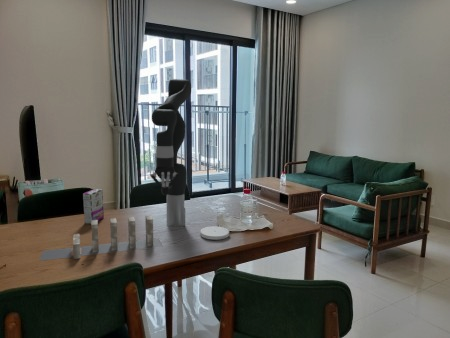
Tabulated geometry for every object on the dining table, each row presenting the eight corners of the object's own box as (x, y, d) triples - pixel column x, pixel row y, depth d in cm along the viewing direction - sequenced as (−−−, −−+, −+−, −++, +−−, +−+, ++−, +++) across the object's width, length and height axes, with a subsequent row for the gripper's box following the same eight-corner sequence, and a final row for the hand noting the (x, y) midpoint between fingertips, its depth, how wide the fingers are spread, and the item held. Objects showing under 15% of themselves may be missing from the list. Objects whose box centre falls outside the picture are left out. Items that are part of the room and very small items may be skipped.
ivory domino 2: (116, 244, 148) (115, 218, 146) (117, 249, 143) (116, 222, 141) (111, 245, 147) (110, 218, 145) (111, 250, 142) (110, 223, 140)
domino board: (158, 240, 157) (158, 237, 157) (162, 248, 148) (162, 245, 148) (42, 253, 140) (42, 250, 140) (39, 263, 131) (39, 260, 130)
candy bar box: (95, 217, 188) (94, 188, 185) (104, 218, 187) (103, 189, 184) (83, 223, 177) (82, 193, 174) (92, 224, 176) (91, 193, 173)
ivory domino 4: (151, 240, 154) (150, 215, 152) (153, 245, 148) (153, 219, 146) (145, 241, 153) (145, 215, 151) (147, 246, 147) (147, 219, 145)
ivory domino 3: (134, 242, 151) (133, 216, 149) (135, 247, 145) (135, 220, 143) (128, 243, 150) (128, 217, 148) (130, 248, 145) (129, 221, 143)
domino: (79, 233, 143) (79, 243, 132) (80, 246, 144) (80, 258, 133) (73, 234, 142) (72, 244, 131) (74, 247, 143) (73, 259, 132)
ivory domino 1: (98, 246, 146) (97, 219, 144) (98, 251, 140) (97, 224, 138) (92, 247, 145) (91, 220, 143) (92, 252, 139) (91, 224, 137)
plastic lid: (206, 243, 155) (207, 238, 155) (196, 233, 168) (196, 228, 167) (233, 239, 161) (234, 234, 161) (221, 229, 174) (221, 225, 173)
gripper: (177, 154, 152) (177, 191, 155) (148, 155, 147) (148, 193, 150) (181, 156, 145) (181, 195, 148) (150, 157, 141) (151, 197, 143)
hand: (164, 194), depth 149 cm, fingers closed
